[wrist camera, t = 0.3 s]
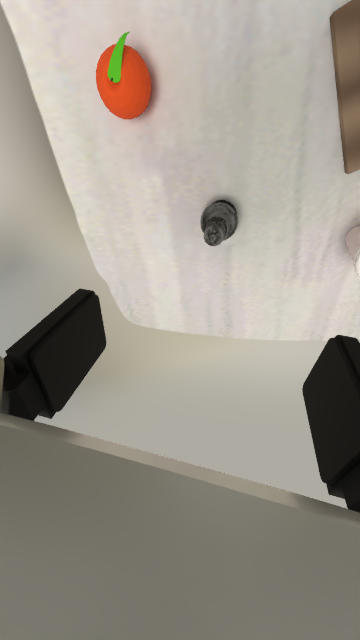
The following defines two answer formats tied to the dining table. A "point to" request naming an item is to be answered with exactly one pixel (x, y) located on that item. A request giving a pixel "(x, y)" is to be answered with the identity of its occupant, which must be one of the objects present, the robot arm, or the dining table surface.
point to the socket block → (348, 79)
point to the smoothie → (354, 247)
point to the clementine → (123, 80)
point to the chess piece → (219, 222)
